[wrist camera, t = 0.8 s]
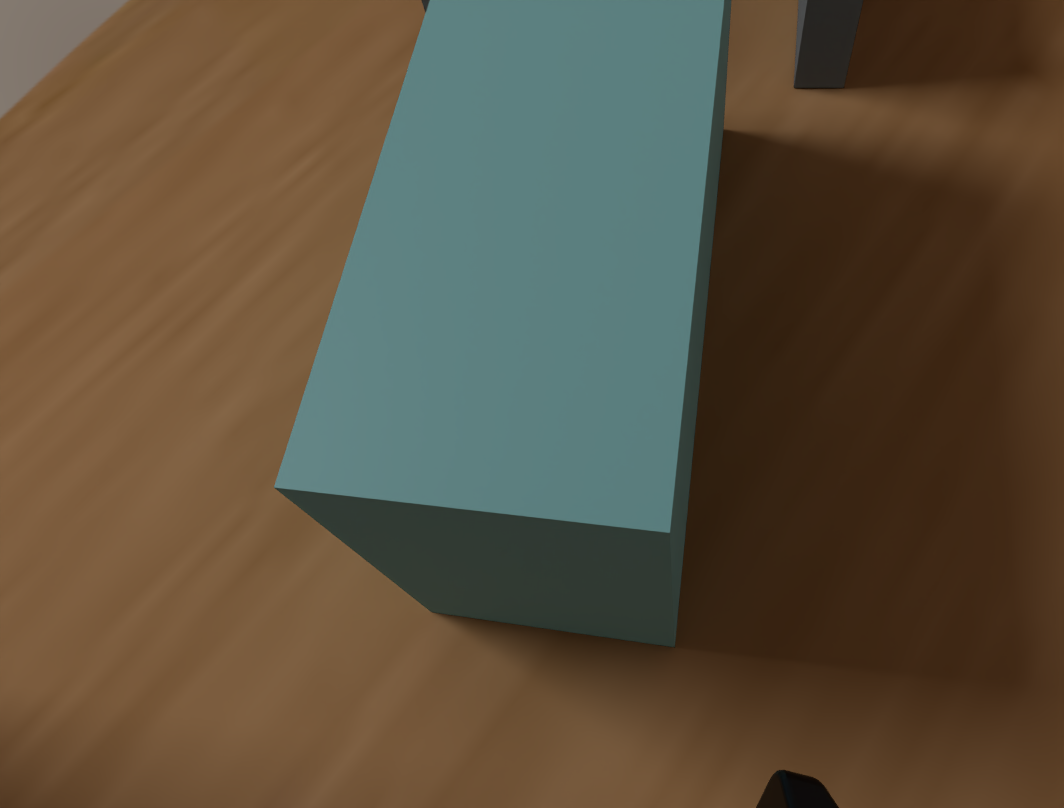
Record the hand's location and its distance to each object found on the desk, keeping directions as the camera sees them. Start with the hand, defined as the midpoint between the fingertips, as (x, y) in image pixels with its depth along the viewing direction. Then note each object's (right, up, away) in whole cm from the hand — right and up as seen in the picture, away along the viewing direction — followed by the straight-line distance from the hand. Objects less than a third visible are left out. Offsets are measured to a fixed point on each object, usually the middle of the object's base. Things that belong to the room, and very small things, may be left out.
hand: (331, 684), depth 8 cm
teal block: (+4, +5, +15) cm, 16 cm away
